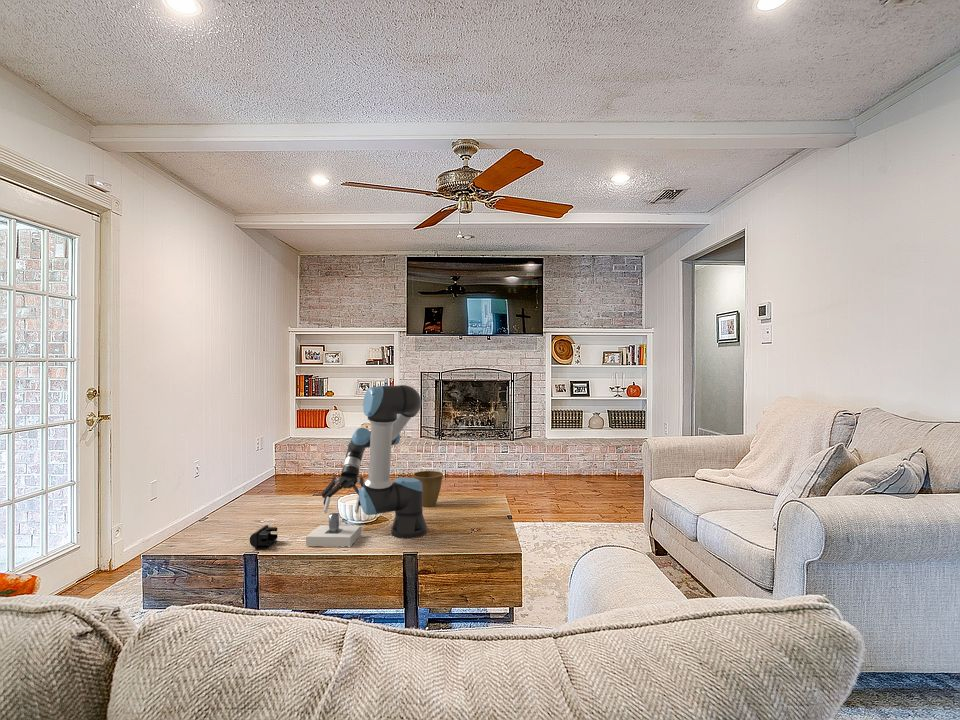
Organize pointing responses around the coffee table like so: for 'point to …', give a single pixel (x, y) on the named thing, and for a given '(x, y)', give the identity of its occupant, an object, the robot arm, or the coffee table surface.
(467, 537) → the coffee table surface
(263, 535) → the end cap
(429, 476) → the plant pot
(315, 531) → the socket block
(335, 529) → the pin
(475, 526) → the coffee table surface
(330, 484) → the robot arm
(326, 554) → the coffee table surface
